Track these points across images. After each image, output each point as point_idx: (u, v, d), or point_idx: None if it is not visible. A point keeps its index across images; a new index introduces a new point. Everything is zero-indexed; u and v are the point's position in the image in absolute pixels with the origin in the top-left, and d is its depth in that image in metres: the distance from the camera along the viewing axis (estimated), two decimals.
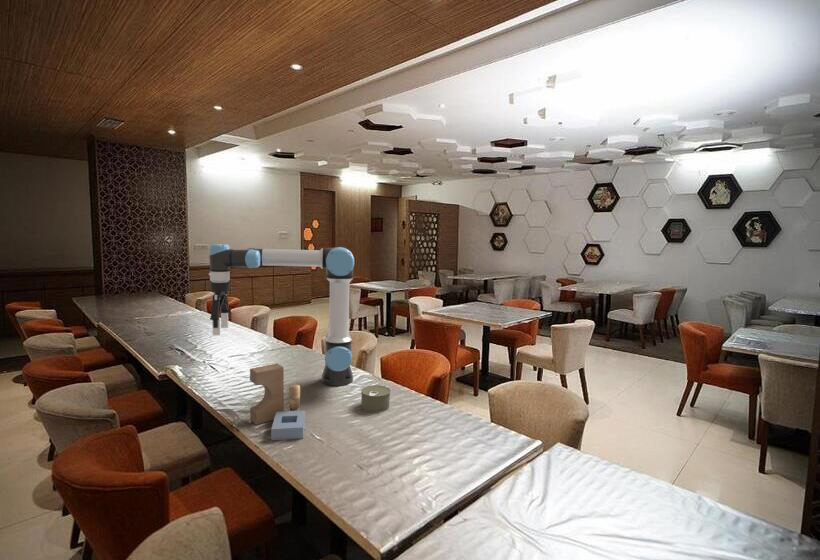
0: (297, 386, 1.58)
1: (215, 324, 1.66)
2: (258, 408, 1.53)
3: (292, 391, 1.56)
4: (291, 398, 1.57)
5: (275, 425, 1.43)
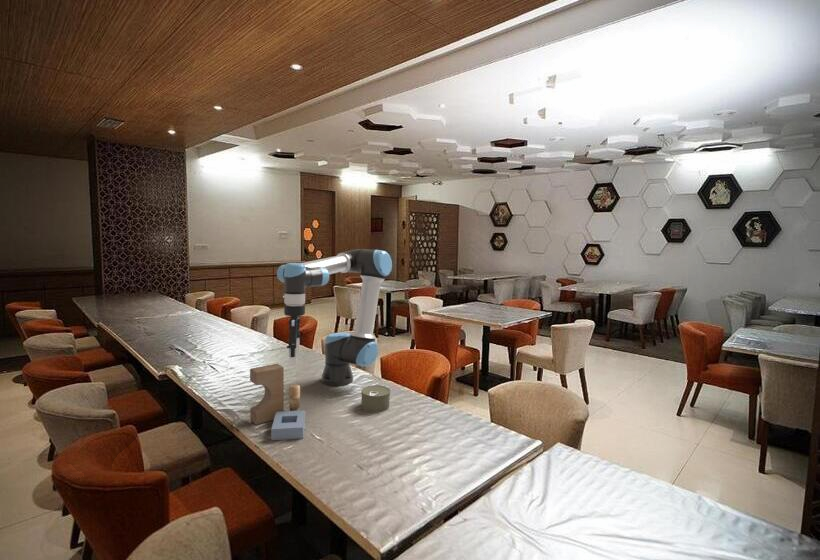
0: (297, 386, 1.58)
1: (292, 353, 1.48)
2: (258, 408, 1.53)
3: (292, 391, 1.56)
4: (291, 398, 1.57)
5: (275, 425, 1.43)
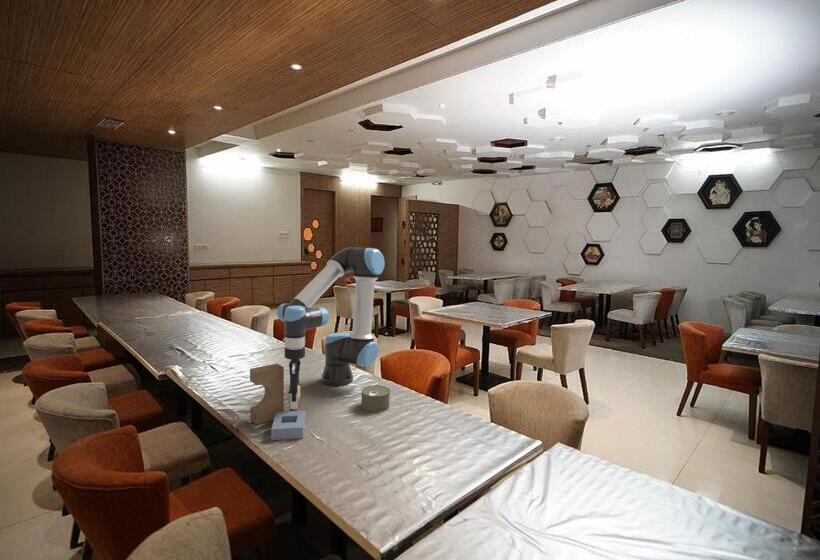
0: (297, 386, 1.58)
1: (294, 398, 1.55)
2: (258, 408, 1.53)
3: None
4: None
5: (275, 425, 1.43)
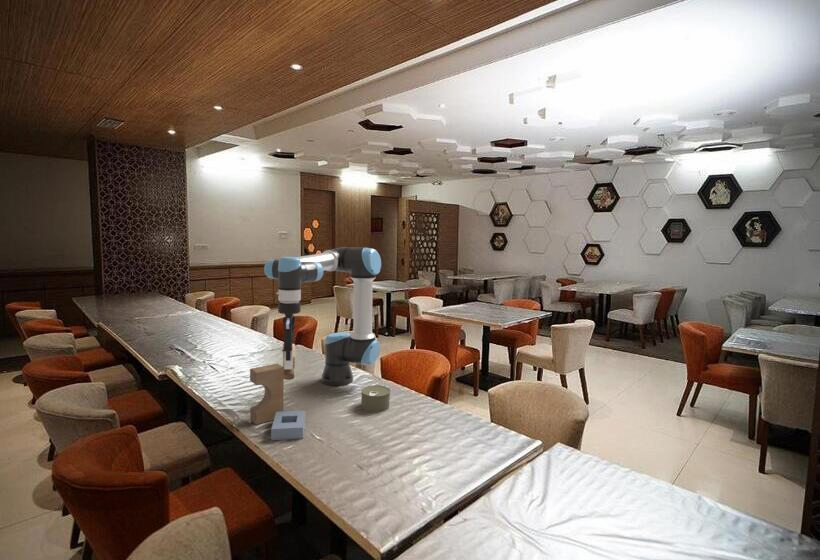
0: (292, 344, 1.45)
1: (288, 356, 1.42)
2: (258, 408, 1.53)
3: None
4: None
5: (275, 425, 1.43)
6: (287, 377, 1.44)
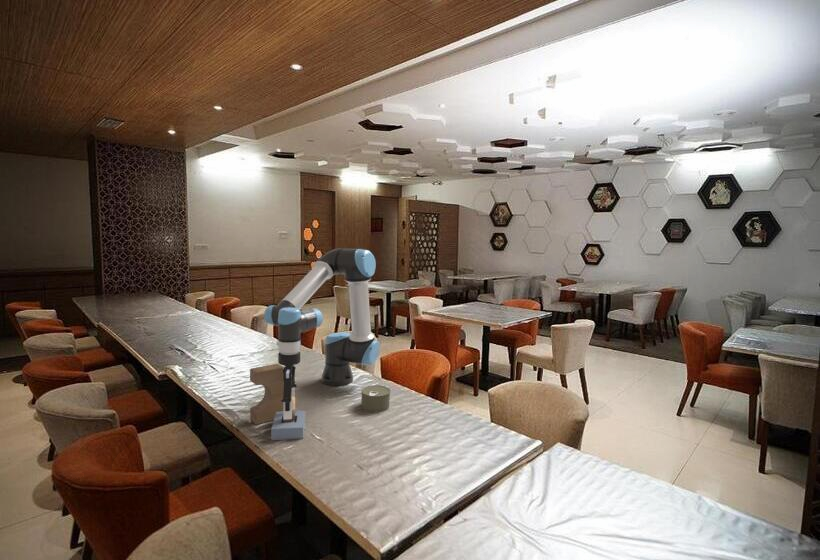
0: (292, 397, 1.47)
1: (287, 407, 1.40)
2: (258, 408, 1.53)
3: None
4: None
5: (275, 425, 1.43)
6: None
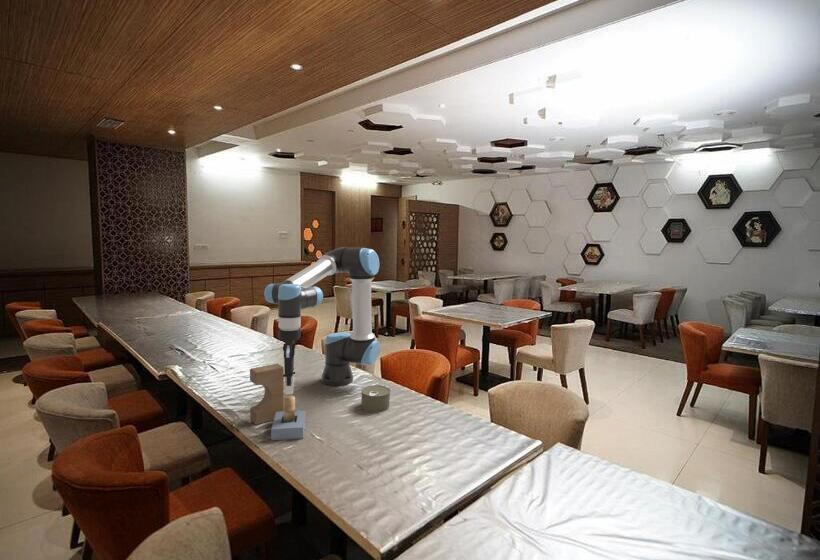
0: (292, 397, 1.47)
1: (288, 382, 1.45)
2: (258, 408, 1.53)
3: (286, 402, 1.45)
4: (285, 410, 1.46)
5: (275, 425, 1.43)
6: None
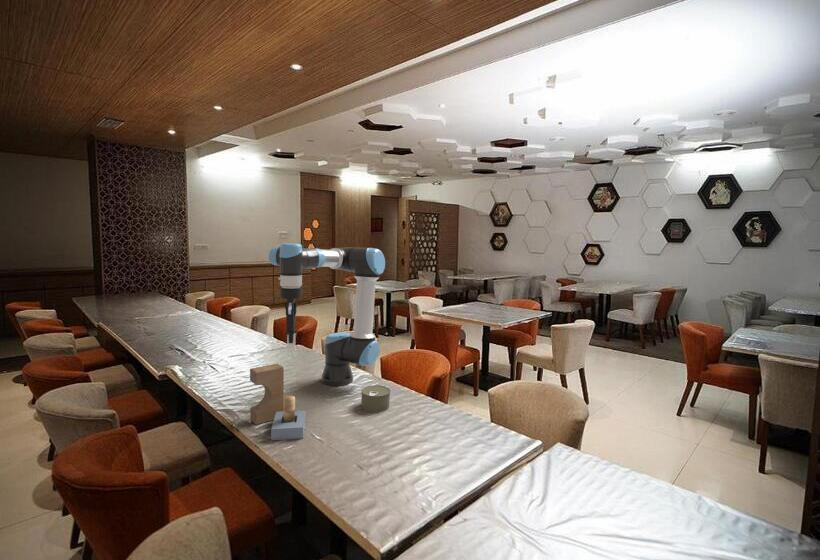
0: (292, 397, 1.47)
1: (291, 339, 1.48)
2: (258, 408, 1.53)
3: (286, 402, 1.45)
4: (285, 410, 1.46)
5: (275, 425, 1.43)
6: None
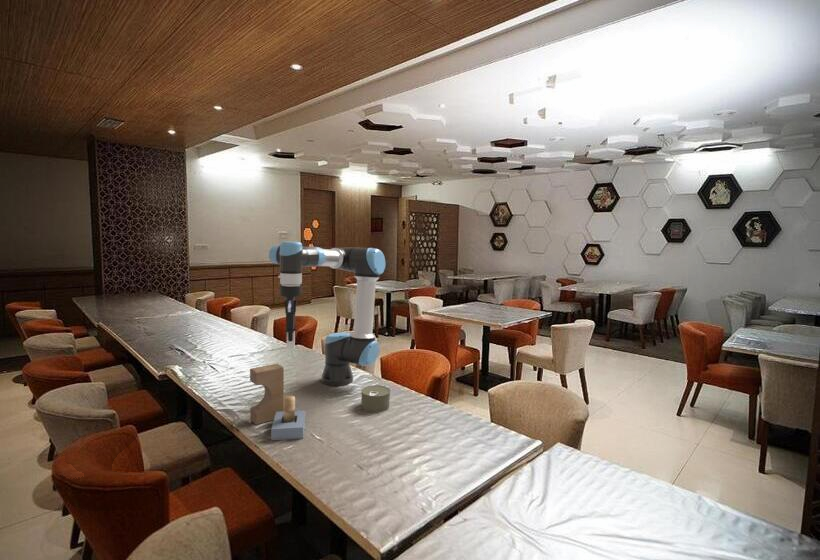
0: (292, 397, 1.47)
1: (290, 337, 1.48)
2: (258, 408, 1.53)
3: (286, 402, 1.45)
4: (285, 410, 1.46)
5: (275, 425, 1.43)
6: None
